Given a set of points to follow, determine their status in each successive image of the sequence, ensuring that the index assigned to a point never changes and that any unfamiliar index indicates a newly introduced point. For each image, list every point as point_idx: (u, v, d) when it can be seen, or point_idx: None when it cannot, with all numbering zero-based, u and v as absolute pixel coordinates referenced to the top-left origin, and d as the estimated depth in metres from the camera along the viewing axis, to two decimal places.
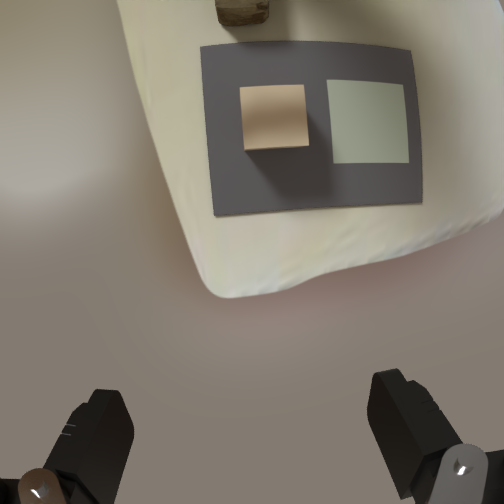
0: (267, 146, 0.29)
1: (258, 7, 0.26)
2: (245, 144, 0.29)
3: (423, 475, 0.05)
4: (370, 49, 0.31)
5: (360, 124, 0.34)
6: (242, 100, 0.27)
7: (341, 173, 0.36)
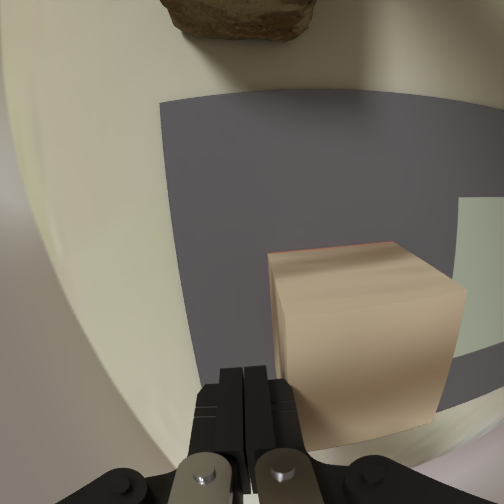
0: (344, 443, 0.10)
1: None
2: None
3: None
4: None
5: (493, 286, 0.15)
6: (292, 357, 0.09)
7: None
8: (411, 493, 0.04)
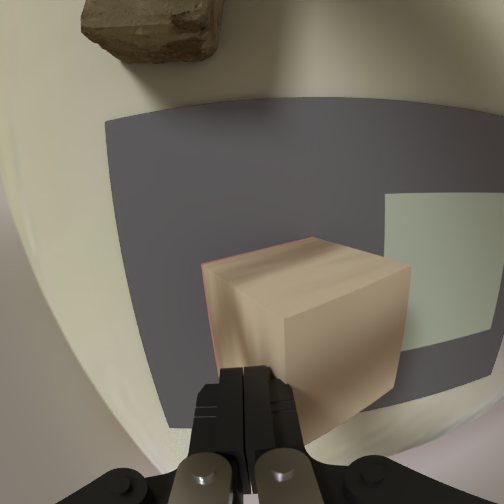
0: (331, 428, 0.11)
1: (179, 25, 0.10)
2: None
3: None
4: (468, 119, 0.14)
5: (434, 283, 0.17)
6: (289, 357, 0.09)
7: None
8: (411, 493, 0.04)
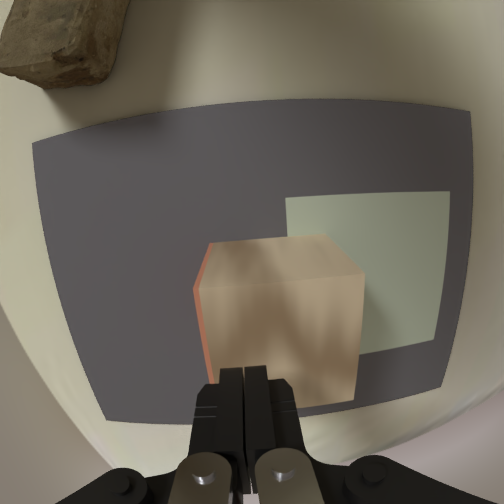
0: None
1: (60, 60, 0.10)
2: (353, 391, 0.13)
3: None
4: (391, 112, 0.15)
5: None
6: (361, 305, 0.11)
7: None
8: (411, 493, 0.04)
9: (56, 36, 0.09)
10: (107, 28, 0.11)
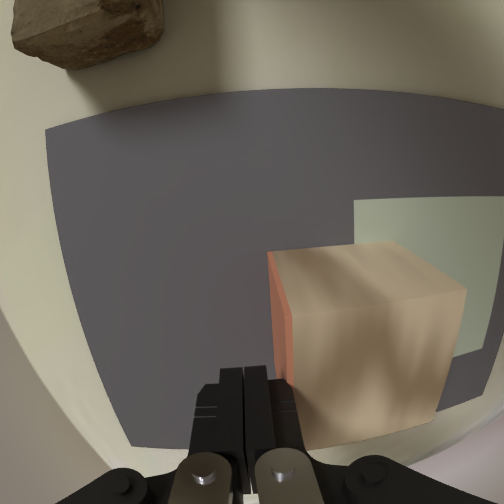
0: None
1: (111, 9, 0.08)
2: (432, 412, 0.10)
3: None
4: (456, 111, 0.12)
5: None
6: None
7: None
8: (411, 493, 0.04)
9: None
10: None
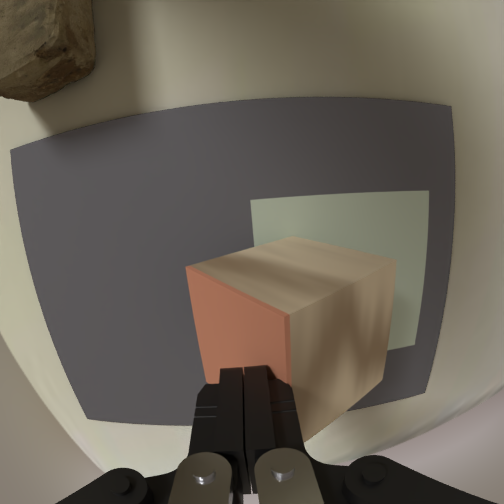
0: None
1: (44, 56, 0.10)
2: None
3: None
4: (362, 109, 0.15)
5: None
6: None
7: None
8: (411, 493, 0.04)
9: (34, 36, 0.09)
10: (80, 21, 0.11)
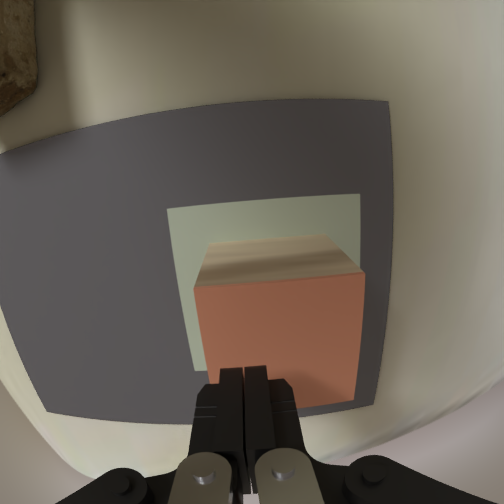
0: None
1: None
2: None
3: None
4: (280, 111, 0.15)
5: None
6: None
7: None
8: (411, 493, 0.04)
9: None
10: (20, 46, 0.11)
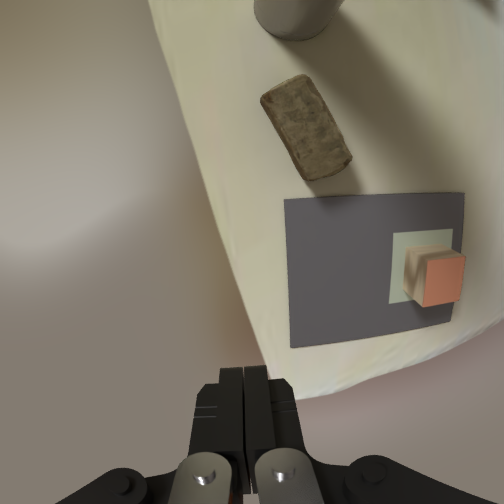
0: None
1: (345, 163, 0.32)
2: None
3: None
4: (432, 198, 0.37)
5: None
6: None
7: (393, 310, 0.42)
8: (411, 493, 0.04)
9: (341, 155, 0.32)
10: None
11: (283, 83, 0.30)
